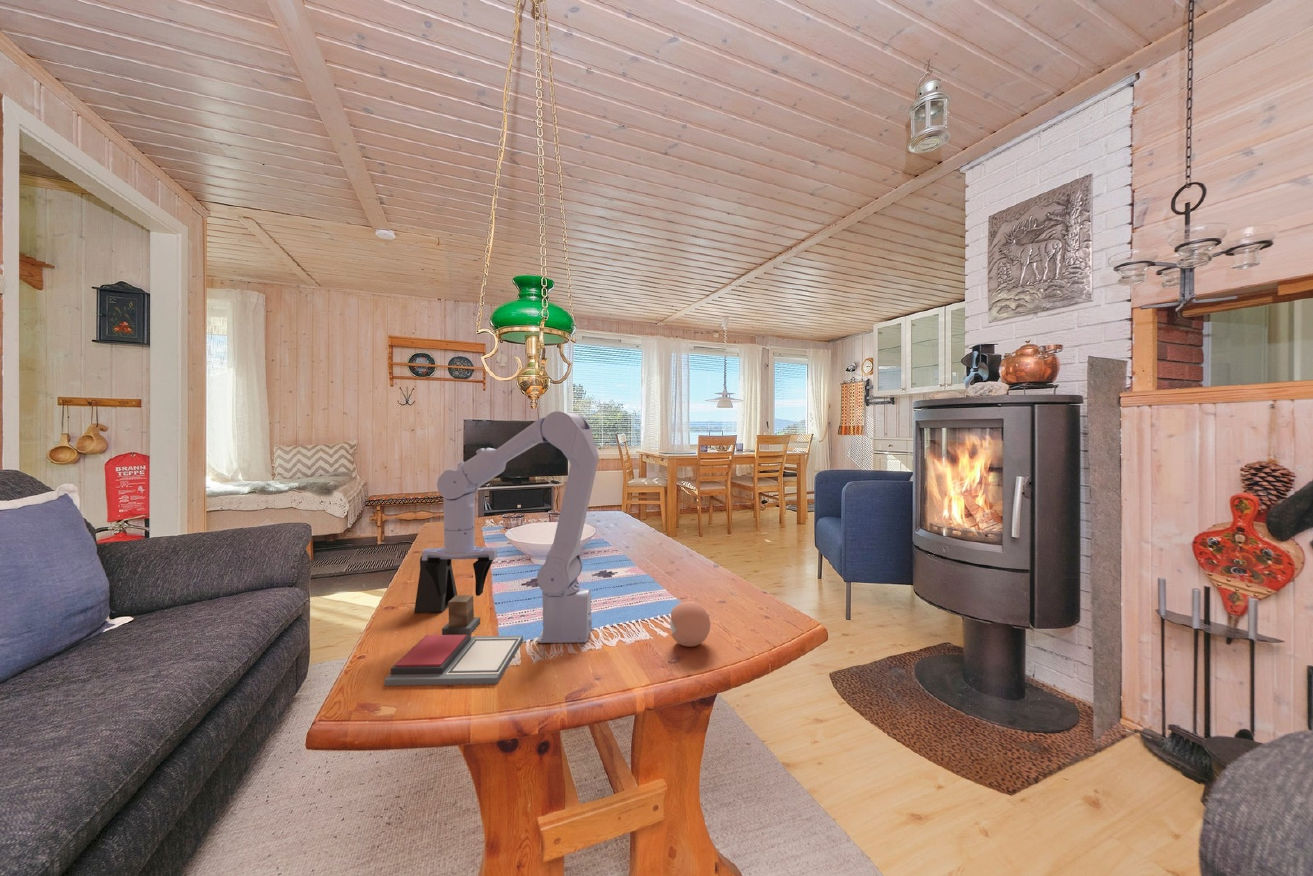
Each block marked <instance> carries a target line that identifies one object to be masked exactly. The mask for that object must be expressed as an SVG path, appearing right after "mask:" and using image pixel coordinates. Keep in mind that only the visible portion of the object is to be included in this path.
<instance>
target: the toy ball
mask: <svg viewBox="0 0 1313 876" xmlns="http://www.w3.org/2000/svg"><path fill="white" fill-rule="evenodd" d="M669 621H670V622H669V626H670V627H669V628H670V631H671V635H670V636H671V637H672V638H673V640H674V641H675V642H676V643H678V645H681V646H683V647H689V648H690V647H697V646H698V645H700V644H702V643H703V642H704V641H706V639H707V638H708V636H709V634H710V630H711V620H710V616H709V613H708V612H707V611H706V609H705V608H704V607H703V606H702V605H701V604H699V603H697V602H695V601H691V600H689V601H687V600H686V601H682V602H680V603H678V604H676V605H675V606H674V607H673V608H672V609H671V612H670V620H669Z"/></svg>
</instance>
